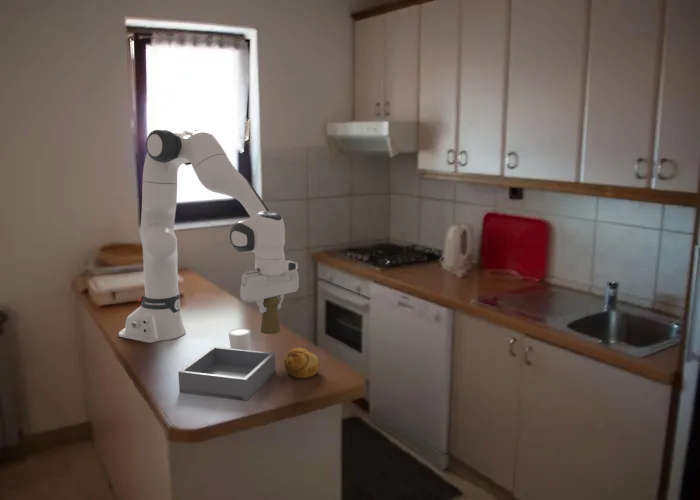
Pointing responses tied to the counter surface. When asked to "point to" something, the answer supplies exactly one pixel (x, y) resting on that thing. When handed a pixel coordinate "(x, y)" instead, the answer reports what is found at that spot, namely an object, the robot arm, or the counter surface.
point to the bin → (227, 373)
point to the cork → (270, 316)
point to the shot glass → (239, 339)
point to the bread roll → (301, 363)
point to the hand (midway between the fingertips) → (270, 310)
